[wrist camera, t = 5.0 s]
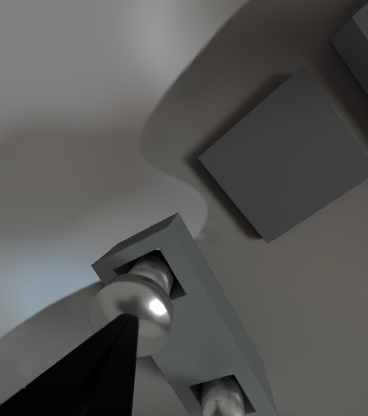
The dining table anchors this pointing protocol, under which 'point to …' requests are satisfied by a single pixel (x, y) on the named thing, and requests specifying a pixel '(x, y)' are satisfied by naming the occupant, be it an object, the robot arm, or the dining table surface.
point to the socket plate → (355, 46)
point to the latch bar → (195, 320)
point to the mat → (286, 158)
